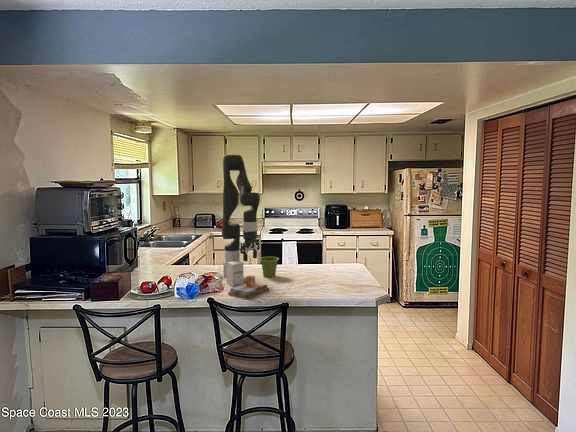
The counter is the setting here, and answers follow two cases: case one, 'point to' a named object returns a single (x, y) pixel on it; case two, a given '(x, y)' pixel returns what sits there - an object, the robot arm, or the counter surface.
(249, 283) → the stub
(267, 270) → the plant pot
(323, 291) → the counter surface
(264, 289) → the ticket board
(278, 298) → the counter surface
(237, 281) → the supplement box
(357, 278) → the counter surface
